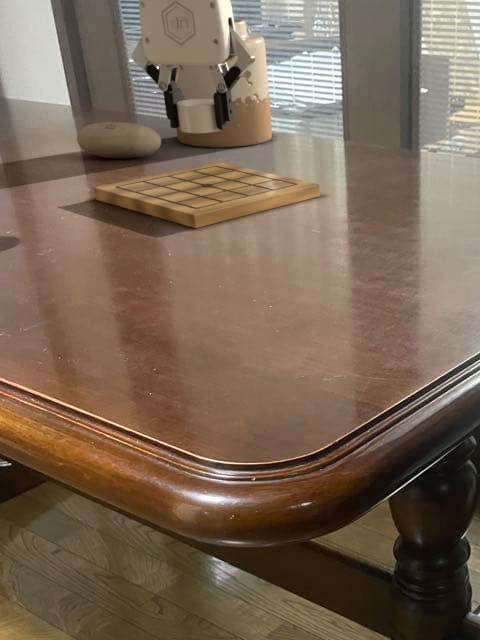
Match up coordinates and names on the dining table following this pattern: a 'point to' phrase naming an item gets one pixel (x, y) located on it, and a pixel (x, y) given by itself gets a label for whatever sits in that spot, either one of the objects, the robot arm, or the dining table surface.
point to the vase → (233, 98)
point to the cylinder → (197, 116)
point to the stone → (118, 140)
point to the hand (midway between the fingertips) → (201, 125)
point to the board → (206, 193)
